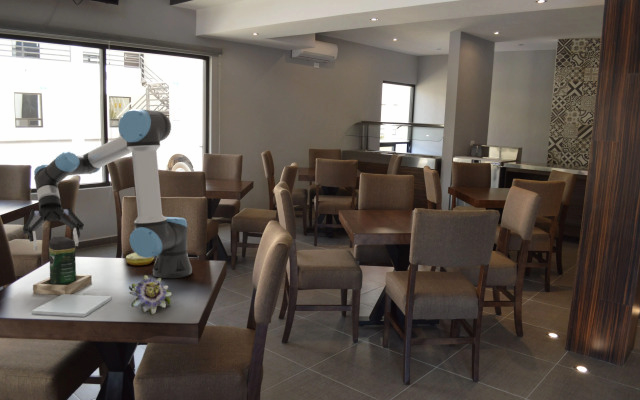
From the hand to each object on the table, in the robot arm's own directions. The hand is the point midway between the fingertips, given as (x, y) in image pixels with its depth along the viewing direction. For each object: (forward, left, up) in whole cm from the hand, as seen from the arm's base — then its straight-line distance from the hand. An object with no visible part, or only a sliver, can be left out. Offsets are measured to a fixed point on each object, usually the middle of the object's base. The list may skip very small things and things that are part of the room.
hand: (56, 246), depth 189 cm
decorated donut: (-15, -36, -15) cm, 42 cm away
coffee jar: (-4, +4, -15) cm, 16 cm away
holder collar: (-4, +4, -14) cm, 15 cm away
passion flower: (-43, +21, -15) cm, 50 cm away
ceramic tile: (-18, +22, -14) cm, 32 cm away
